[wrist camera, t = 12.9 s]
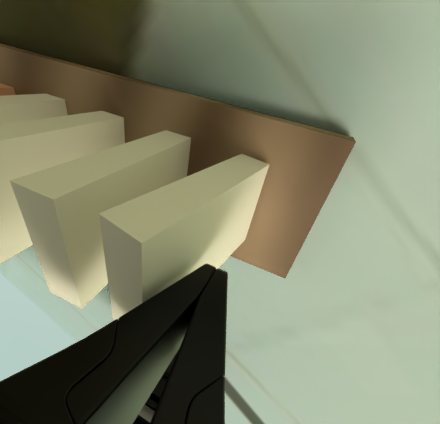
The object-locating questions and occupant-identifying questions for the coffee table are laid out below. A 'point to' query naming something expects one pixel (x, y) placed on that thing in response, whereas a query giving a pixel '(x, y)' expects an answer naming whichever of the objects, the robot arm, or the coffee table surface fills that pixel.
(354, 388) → the coffee table surface
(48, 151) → the ivory domino
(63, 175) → the ivory domino
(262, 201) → the walnut board
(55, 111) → the ivory domino
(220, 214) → the ivory domino
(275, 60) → the coffee table surface
